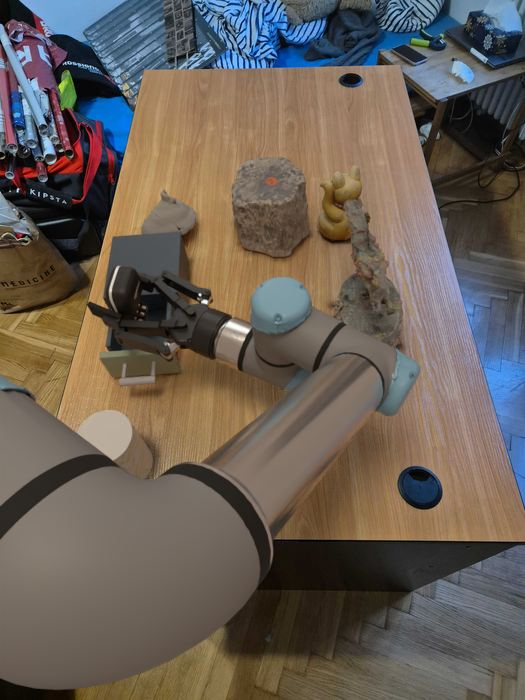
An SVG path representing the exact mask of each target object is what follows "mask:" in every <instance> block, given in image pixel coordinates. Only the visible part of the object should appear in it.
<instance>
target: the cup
mask: <svg viewBox="0 0 525 700" xmlns="http://www.w3.org/2000/svg"><path fill="white" fill-rule="evenodd" d="M76 433H77V434H79V435H80V436H81V437H83V438H84V439H85V440H87V441H88V442H89V443H91V444H92V445H93V446H95V447H96V448H97V449H99V450H100V451H101V452H103V453H104V454H105V455H107V456H108V457H109V458H110V459H112V460H113V461H114V462H115V463H116V464H117V465H119V466H120V467H121V468H123V469H124V470H125V471H127V472H128V473H129V474H131V475H133V476H135V477H138V478H140V479H148V476H149V475H150V474H151V471H152V469H153V464H154V458H153V453H152V451H151V449H150V447H148V445H147V443H146V442H145V441H144V439H143V437H142V436H141V435H140V433H139V432H138V430H137V429H136V428H135V427H134V425H133V423H132V421H130V419H129V417H127V416H126V415H125V414H124V413H122V412H120V411H118V410H114V409H105V410H99V411H97V412H95V413H93V414H90V415H89V416H88V417H86V419H85V420H83V421H82V423H81V424H80V426H79V427H78V429H77V431H76Z"/></svg>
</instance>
